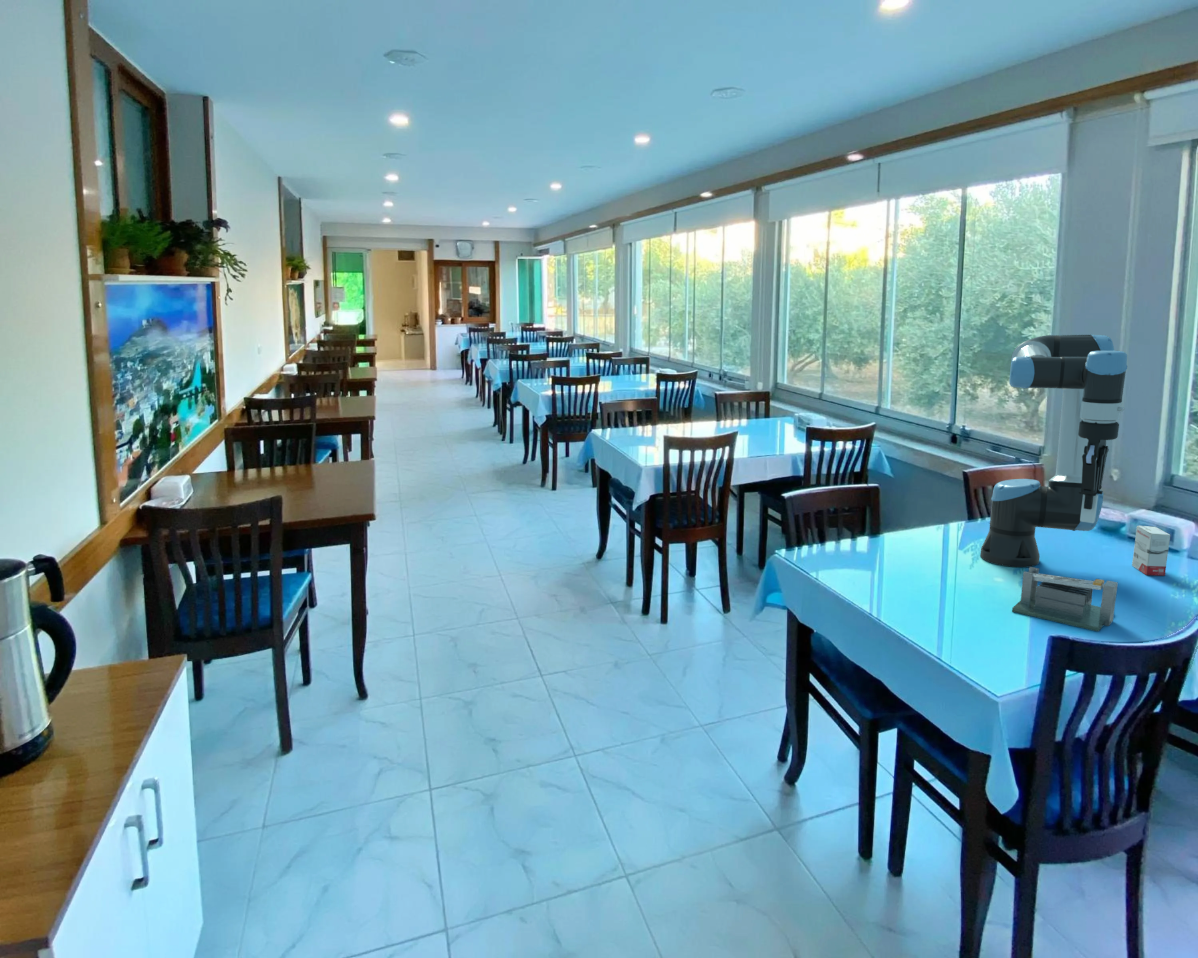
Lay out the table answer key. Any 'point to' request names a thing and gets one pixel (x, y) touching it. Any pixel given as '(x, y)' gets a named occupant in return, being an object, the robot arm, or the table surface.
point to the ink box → (1151, 550)
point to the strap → (1069, 581)
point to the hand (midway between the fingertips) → (1087, 521)
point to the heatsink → (1066, 603)
